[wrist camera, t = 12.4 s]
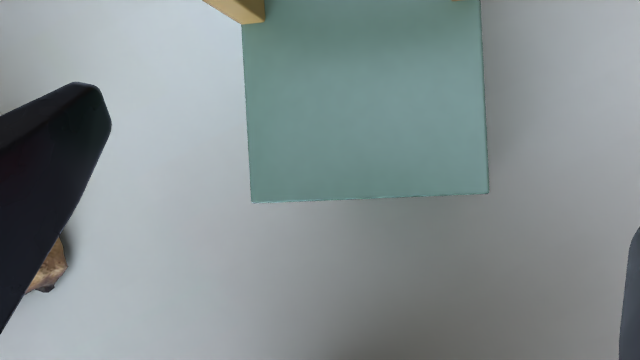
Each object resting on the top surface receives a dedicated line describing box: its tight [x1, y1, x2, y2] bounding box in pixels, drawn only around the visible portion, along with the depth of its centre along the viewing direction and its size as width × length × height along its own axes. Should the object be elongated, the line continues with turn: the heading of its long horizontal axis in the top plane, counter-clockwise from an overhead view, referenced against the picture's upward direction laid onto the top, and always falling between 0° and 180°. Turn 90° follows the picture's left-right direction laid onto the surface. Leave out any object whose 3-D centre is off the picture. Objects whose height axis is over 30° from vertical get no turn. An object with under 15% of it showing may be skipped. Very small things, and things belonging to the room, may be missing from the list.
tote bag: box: [202, 0, 490, 203], centre depth 15 cm, size 9×5×15 cm, turn 3°
